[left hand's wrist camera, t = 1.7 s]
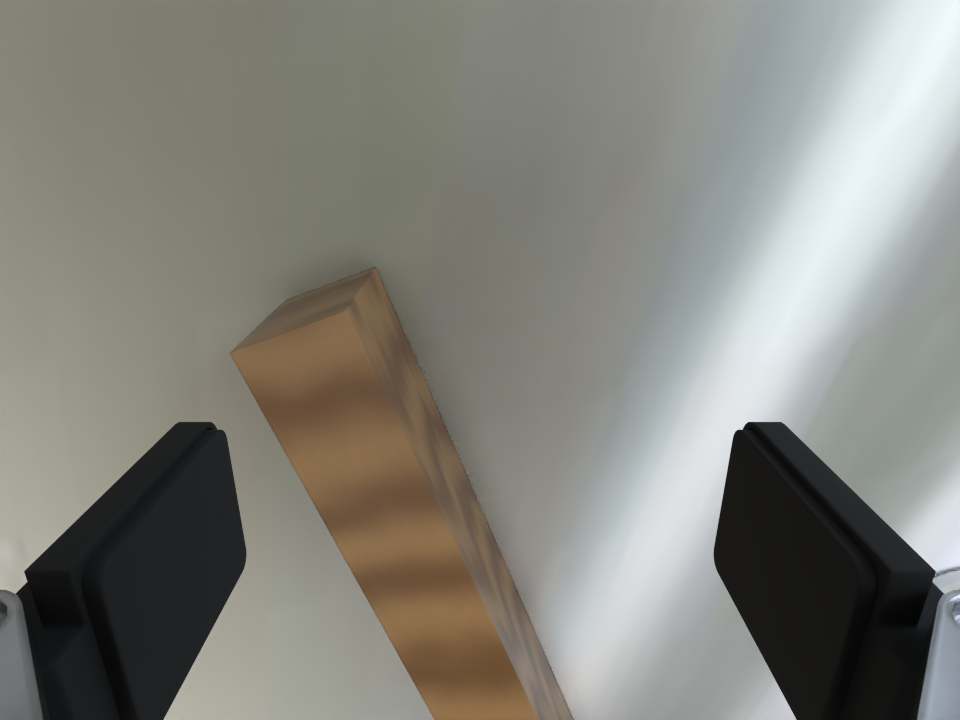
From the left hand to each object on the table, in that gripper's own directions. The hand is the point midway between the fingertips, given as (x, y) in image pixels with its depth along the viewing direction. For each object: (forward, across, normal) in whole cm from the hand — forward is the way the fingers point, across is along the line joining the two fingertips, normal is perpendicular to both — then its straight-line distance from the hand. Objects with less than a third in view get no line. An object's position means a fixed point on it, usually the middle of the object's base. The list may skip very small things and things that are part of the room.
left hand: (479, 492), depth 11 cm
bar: (+22, +3, -30) cm, 38 cm away
